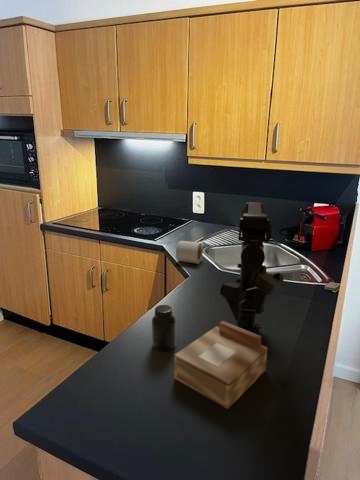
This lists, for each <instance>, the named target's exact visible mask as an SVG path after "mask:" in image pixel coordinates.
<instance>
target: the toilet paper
mask: <svg viewBox="0 0 360 480" xmlns="http://www.w3.org/2000/svg"><path fill="white" fill-rule="evenodd" d="M203 247H204V246H203V243H201V242H195V241H189V240H188V241H187V240H180V241H178V243H177V246H176V250H175V257H176V261H178V262H182V263H191V264H196V265H198V264H200V263H201V261H202V259H203V254H204V253H203V252H204V249H203Z"/></svg>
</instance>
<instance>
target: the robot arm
mask: <svg viewBox="0 0 360 480" xmlns="http://www.w3.org/2000/svg"><path fill="white" fill-rule="evenodd" d="M263 205H264V203H262V202H256V201H249V202H246V206H245V207H244V208H243V209H242V210H241V211H240V218H239V227H238V240H237V241H241V242H242V243H241V251H240V263H237V268H238V269H240V270H239V277H237V278H236V282H225V283H222V284H221V285H220V286H219V295H220V296H222V297H223V298H225V300H226V302H227V304H228V306H229V309H230V310H231V313H232V316H233V318H234V320H235V321H236V323H234V324H233V325H235V326H237V327H240V328H242V329H245V330H247V331H250V332H252V333H254V332H255V331H256V330H258V329H259V328H260V327H261V324H260V323H257V314H258V315H262V313H263V312H264V307H265V303H266V301H267V298H268V296H272V295H273V294H278V292H279V290H280V288H282V287H284V274H282V273H281V272H275V273H274V274H273V273H269V272H267V265H264V262H265V259H266V255H265V250H264V248H265V247H264V246H265V244H264V243H269V242H270V240H271V239H272V223H271V220H270V219H269V218H268V211H266V209H265V208H264V206H263Z"/></svg>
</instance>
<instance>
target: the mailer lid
mask: <svg viewBox="0 0 360 480" xmlns="http://www.w3.org/2000/svg"><path fill="white" fill-rule="evenodd" d="M265 351H268V346H265V345H263V344H262V335H259V334H257V333H254V332H253V333H252V332H250V331H247V330H245V329H242V328H240V327H237V326H235V325H234V324H232V323H229V322H227V321H224V320H221V321H220V322H219V324H218V325H217V326H214V327H213V328H211V329H210V330H209V331H207V332H206V333H204V334H203V335H202V336H200V337H198V338H197V339H195V340H194V341H193V342H191V343H190V344H188V345H186V346H185V347H184V348H182V349H181V350H180V351H178V352H177V353H175V354H174V358H175V357H176V358H178V359H180V360H182V361H184V362H186V363H188V364H189V365H191V366H193V367H195V368H197V369H199V370H201V371H203V372H205V373H207V374H208V375H210V376H212V377H214V378H216V379H218V380H220V381H222V382H224V383H226V384H227V385H230V384H231V383H232V382H233V381H234V380H236V379H237V378H238V377H239V376H240V375H241V374H242V373H243V372H244V371H245V370H246V369H247V368H248V367H249V366H250V365H251V364H253V363H254V362H255V361H256V360H257V359H258V358H259V357H260V356H261V355H262V354H263V353H264V352H265Z"/></svg>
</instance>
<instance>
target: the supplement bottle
mask: <svg viewBox="0 0 360 480" xmlns="http://www.w3.org/2000/svg"><path fill="white" fill-rule="evenodd" d="M172 309H173V308H172V306H170V305H167V304H160V305H157V306H156V307H155V308H154V316H153V317H152V319H151V334H152V335H151V336H152V337H151V338H152V347H153V348H154V350H156V351H158V352H168V351H172V350H173V349H174V348H175V347H176V343H177V340H176V339H177V338H176V337H177V335H176V329H177V328H176V318H175V316H174V315H173V311H172Z"/></svg>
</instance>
